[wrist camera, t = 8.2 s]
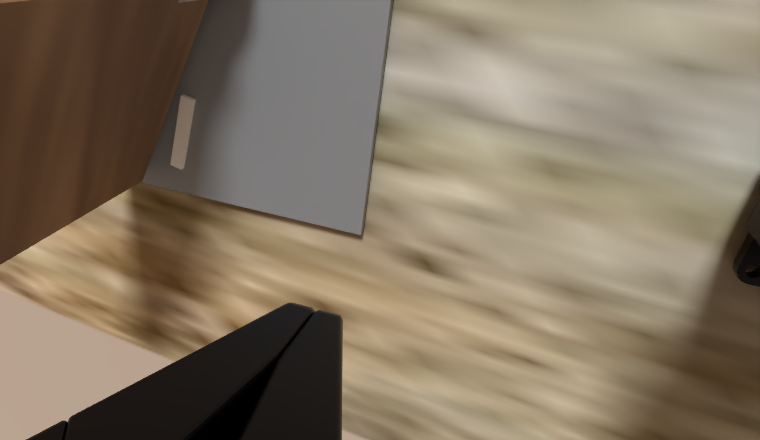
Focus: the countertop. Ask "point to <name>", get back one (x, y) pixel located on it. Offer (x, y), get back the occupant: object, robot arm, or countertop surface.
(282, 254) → the countertop surface
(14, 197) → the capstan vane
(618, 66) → the countertop surface
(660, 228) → the countertop surface
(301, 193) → the slate base
